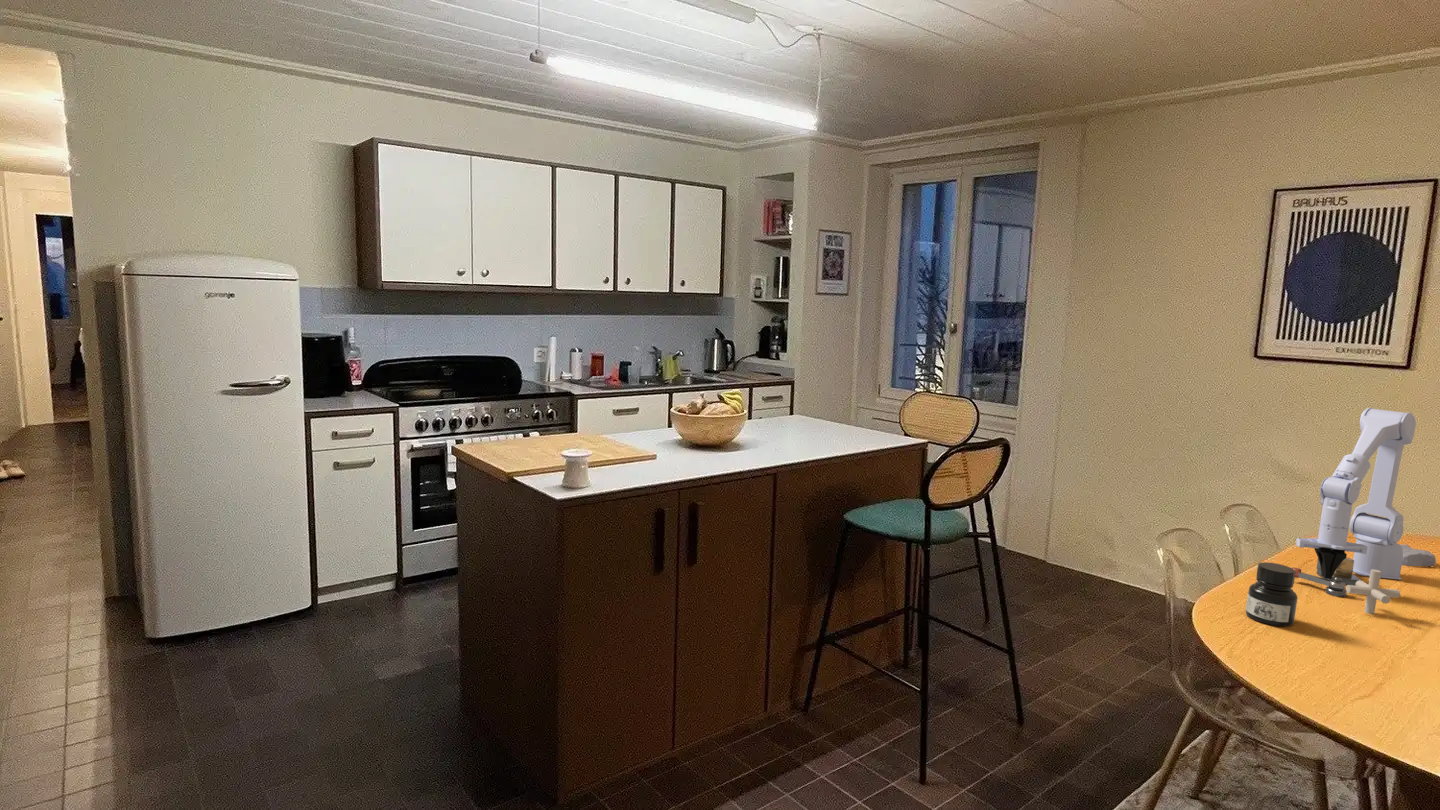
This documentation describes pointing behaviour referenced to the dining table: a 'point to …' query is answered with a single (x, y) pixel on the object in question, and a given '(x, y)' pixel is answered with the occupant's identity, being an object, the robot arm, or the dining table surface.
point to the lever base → (1336, 592)
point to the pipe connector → (1373, 591)
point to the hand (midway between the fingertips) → (1326, 577)
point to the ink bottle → (1272, 595)
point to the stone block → (1417, 557)
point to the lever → (1319, 580)
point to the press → (1345, 580)
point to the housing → (1345, 568)
